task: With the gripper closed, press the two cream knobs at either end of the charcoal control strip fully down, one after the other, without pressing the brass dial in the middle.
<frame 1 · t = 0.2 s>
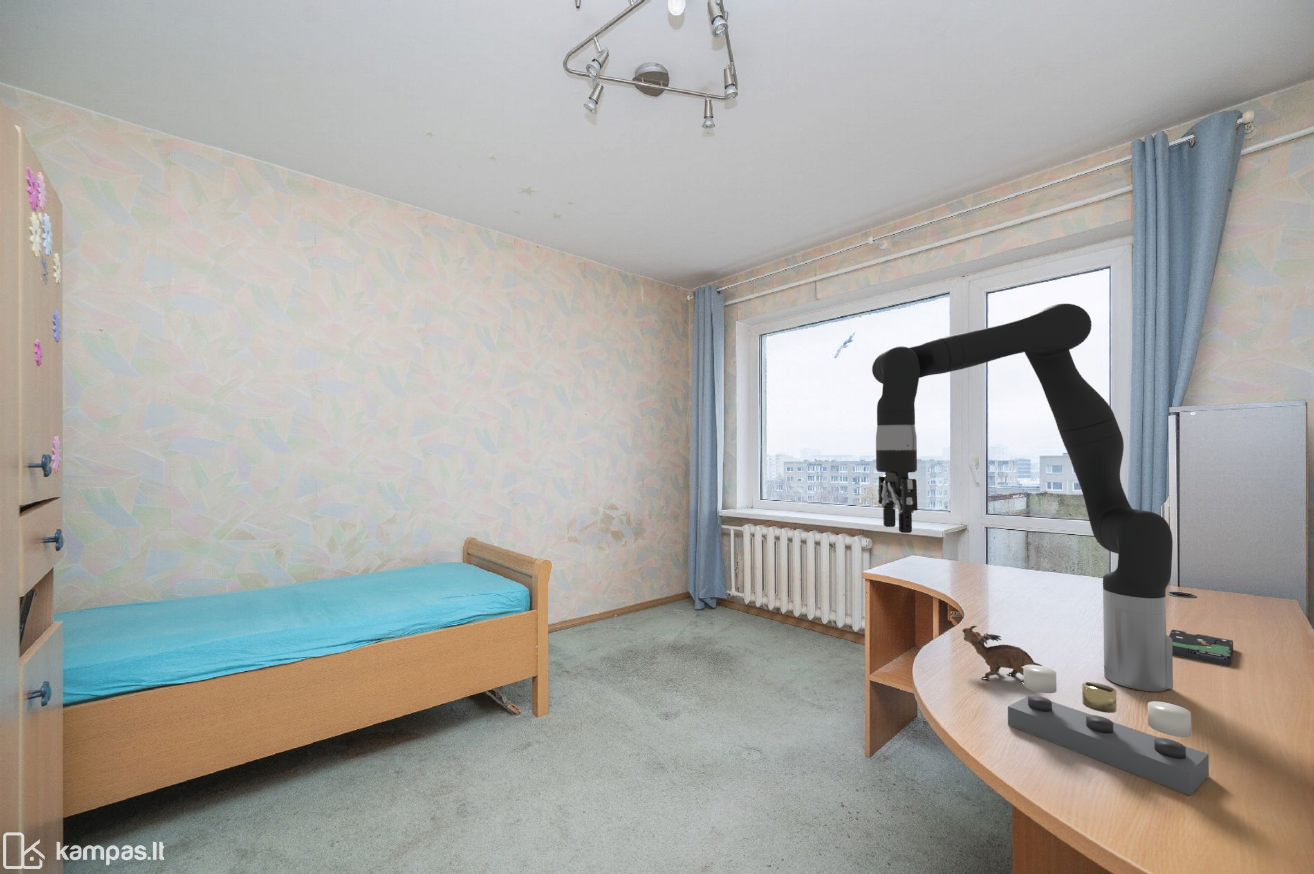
hand: (897, 529, 111), 29 cm above the table, tool pointing down, fingers open, 8 cm apart
dinosaur figurine: (1004, 678, 109), on the table
cream knob 1: (1039, 678, 90), point 8 cm above the table, slide at 0.0 cm
disk drive: (1199, 654, 124), on the table
control strip: (1099, 748, 83), on the table
cream knob 2: (1169, 718, 77), point 8 cm above the table, slide at 0.0 cm
brass dial: (1099, 696, 84), point 8 cm above the table, slide at 0.0 cm
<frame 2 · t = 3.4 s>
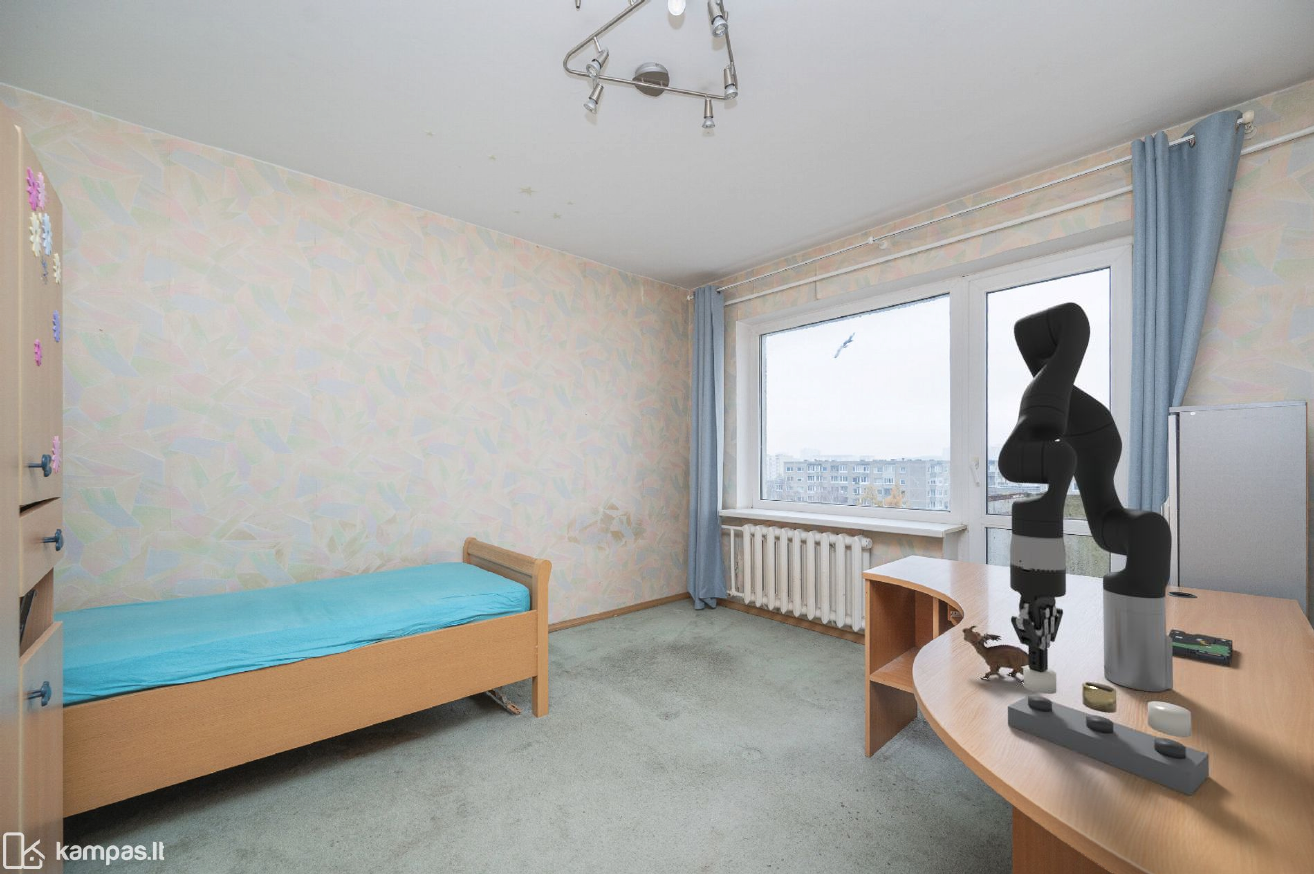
hand: (1038, 670, 90), 9 cm above the table, tool pointing down, fingers closed
cream knob 1: (1039, 679, 90), point 8 cm above the table, slide at 0.1 cm, touching gripper
everything else where it was.
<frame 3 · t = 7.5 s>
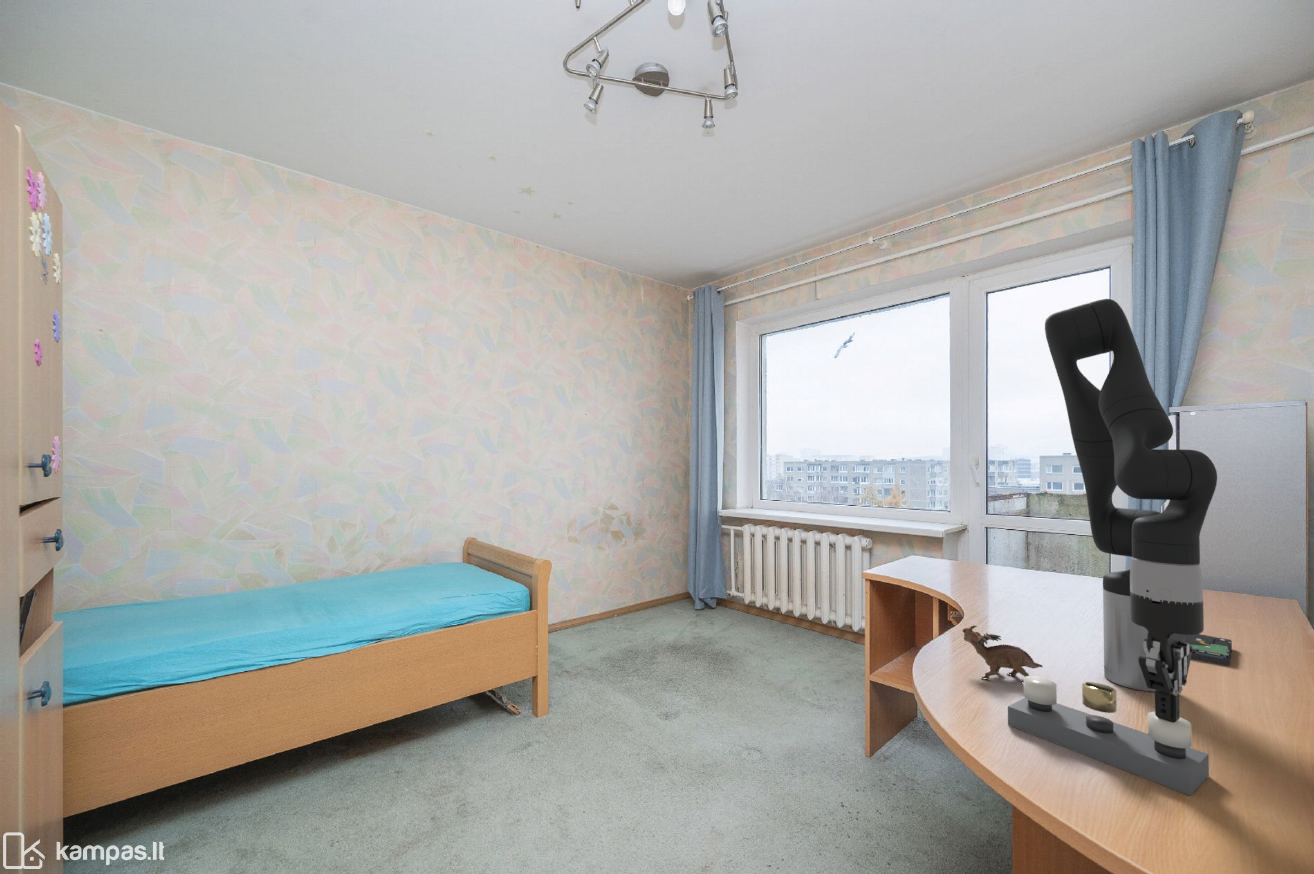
hand: (1167, 718, 77), 8 cm above the table, tool pointing down, fingers closed
cream knob 1: (1039, 690, 90), point 6 cm above the table, slide at 1.8 cm
cream knob 2: (1169, 729, 77), point 6 cm above the table, slide at 1.5 cm, touching gripper
everything else where it was.
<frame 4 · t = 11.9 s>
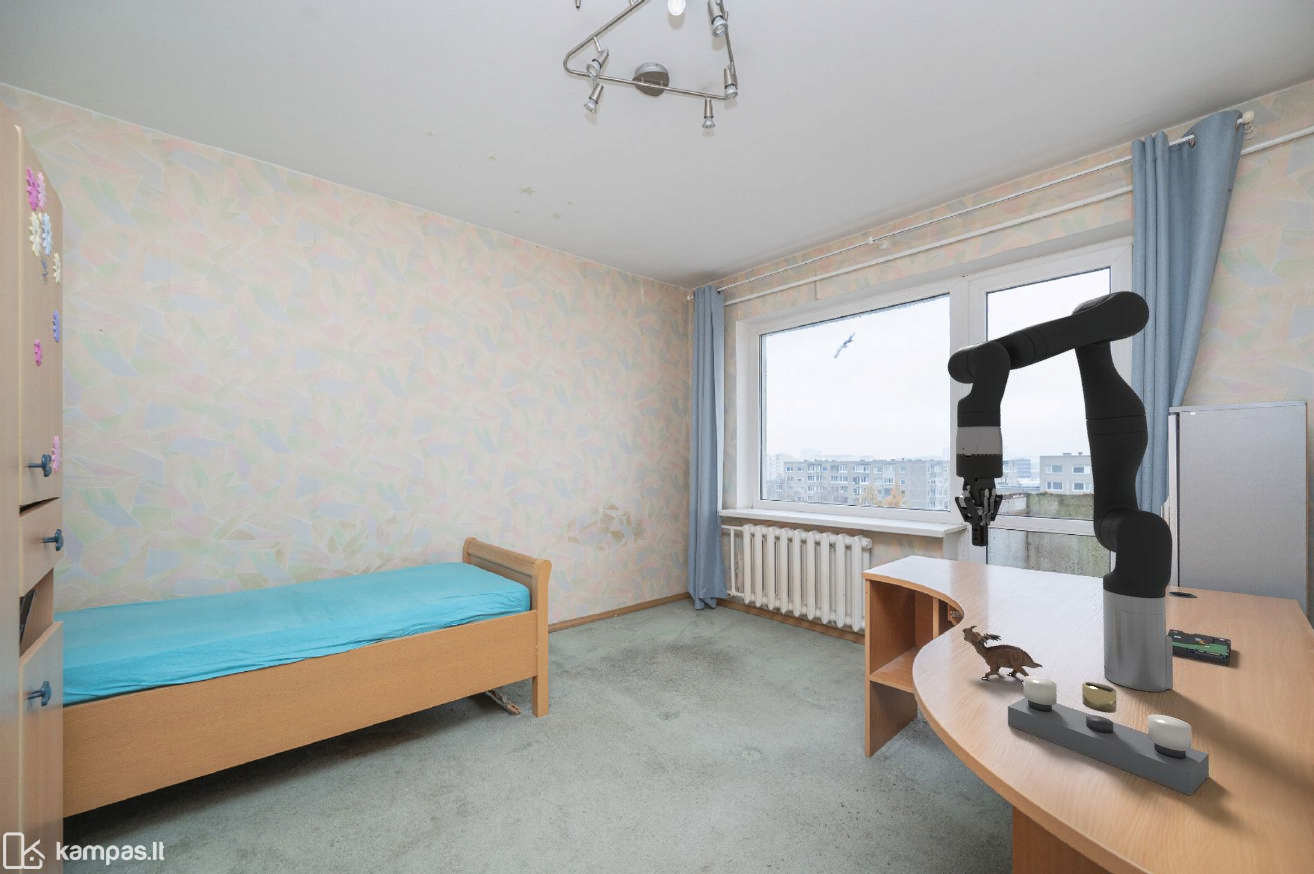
hand: (979, 545, 103), 27 cm above the table, tool pointing down, fingers closed
cream knob 2: (1169, 732, 77), point 6 cm above the table, slide at 1.8 cm
everything else where it was.
at the end: cream knob 1 slide at 1.8 cm; cream knob 2 slide at 1.8 cm; brass dial slide at 0.0 cm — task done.
